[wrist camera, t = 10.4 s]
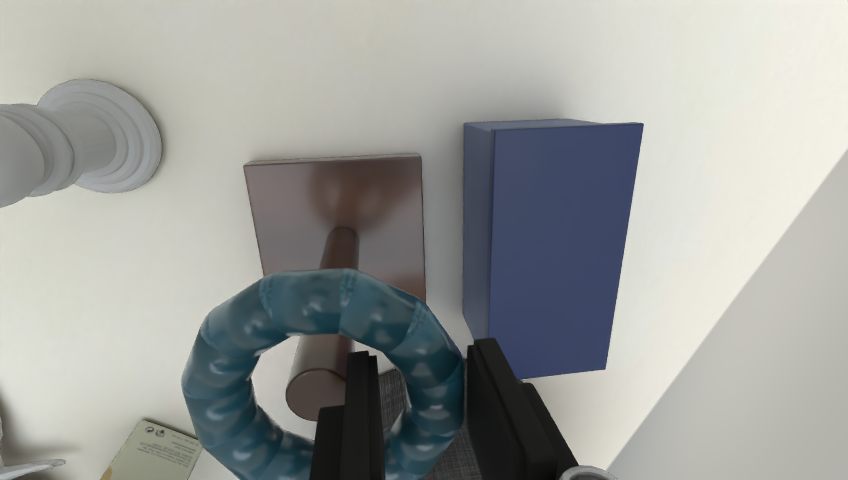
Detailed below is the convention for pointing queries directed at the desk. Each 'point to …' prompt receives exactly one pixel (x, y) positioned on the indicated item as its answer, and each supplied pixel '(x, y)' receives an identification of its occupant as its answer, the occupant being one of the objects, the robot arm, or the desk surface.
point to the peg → (337, 244)
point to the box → (546, 238)
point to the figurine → (24, 466)
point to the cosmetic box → (154, 455)
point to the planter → (457, 466)
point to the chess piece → (76, 142)
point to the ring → (317, 315)
